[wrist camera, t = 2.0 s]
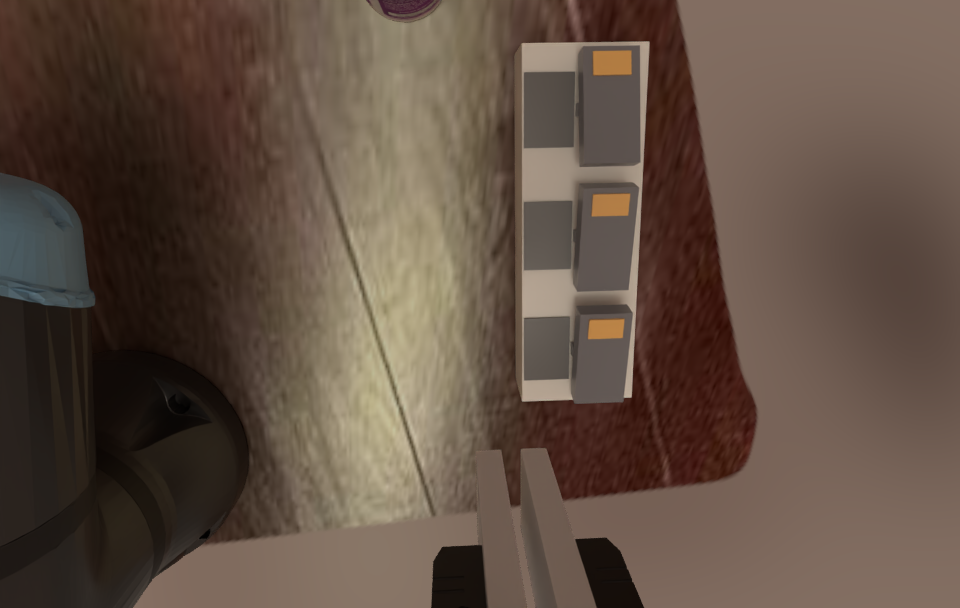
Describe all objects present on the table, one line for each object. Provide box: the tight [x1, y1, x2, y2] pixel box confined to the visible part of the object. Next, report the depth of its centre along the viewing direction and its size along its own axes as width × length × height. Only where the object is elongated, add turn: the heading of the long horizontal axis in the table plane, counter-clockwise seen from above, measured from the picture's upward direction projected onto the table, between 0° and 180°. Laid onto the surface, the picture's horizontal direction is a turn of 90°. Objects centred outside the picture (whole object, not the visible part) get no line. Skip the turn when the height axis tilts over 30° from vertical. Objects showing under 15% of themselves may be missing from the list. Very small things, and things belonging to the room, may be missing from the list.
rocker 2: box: [573, 182, 639, 292], centre depth 33 cm, size 3×6×1 cm, turn 1°
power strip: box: [514, 42, 649, 402], centre depth 36 cm, size 7×21×5 cm, turn 1°
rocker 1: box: [578, 45, 641, 167], centre depth 31 cm, size 3×6×1 cm, turn 1°
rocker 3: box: [571, 304, 633, 404], centre depth 35 cm, size 3×6×1 cm, turn 1°
